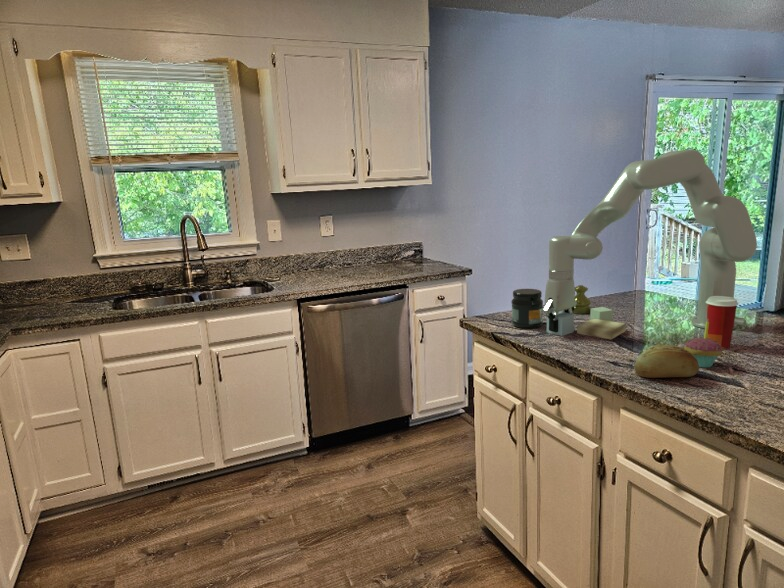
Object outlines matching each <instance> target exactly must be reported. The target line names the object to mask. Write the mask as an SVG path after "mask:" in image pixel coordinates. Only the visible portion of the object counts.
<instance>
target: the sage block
mask: <svg viewBox="0 0 784 588" xmlns="http://www.w3.org/2000/svg"><path fill="white" fill-rule="evenodd" d="M589 314H590V315H589V317H590V318H589V320H590V319H592V318H593V319H600V320H606V321H613V315H614V310H613V309H610V308H608V307H605V306H601V307H593V308H591V312H590V313H589Z"/></svg>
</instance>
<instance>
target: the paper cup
mask: <svg viewBox="0 0 784 588" xmlns="http://www.w3.org/2000/svg"><path fill="white" fill-rule="evenodd" d="M706 303H707V320H708V322H709V326H708V334H707V338H708V339H711V340H715V341H716V342H718V343H719V344H720V345H721V347H722V350H728V349H730V347H731V342H732V339H733V338H732V337H733V331H734V329H733V327H734V320H735V313H736V312H737V306H738V305H739V303H738V300H737V299H736V298H735V297H734V298H732V297H726V296H711V297H709V298H708V299H707V301H706ZM736 314H737V313H736Z"/></svg>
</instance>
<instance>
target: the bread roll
mask: <svg viewBox="0 0 784 588" xmlns="http://www.w3.org/2000/svg"><path fill="white" fill-rule="evenodd" d="M633 368H634V373H635V374H637V375H638V376H639V377H642V378H646V379H647V378H649V379H650V378H651V379H656V378H657V379H659V378H661V379H662V378H688V377H689V378H690V377H694V376H695V375H697V373H698V372H699V371H700V367H699V364H698V361H697V359H696V358H695V357H694V356H693V355H692V354H691V353H690V352H689V351H687V350H685V349H684V348H683V347H680V346H677V345H671V344H657V345H656V344H655V345H652V346H650V347H648V348H645V350H643V351H642V352H641V353H640V355H639V356H638V357H637V359H636V361H635V363H634V367H633Z"/></svg>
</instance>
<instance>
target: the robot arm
mask: <svg viewBox="0 0 784 588" xmlns="http://www.w3.org/2000/svg"><path fill="white" fill-rule="evenodd" d="M676 184H680V185H681V186H682V187H683V189H684V190H685V193H686V196H687V198H688V200H689V204H690V207H691V210H692V213H693V216H694V218H695V221H696V222H697V223H698V224H700V225H702V226H705V227H711V228H709V229H707V230H706V231H705V232H704V233H703V234H702V235H701V237H700V239H699V255H700V275H699V288H698V289H699V290H698V301H697V302H698V303H697V314H696V315H697V316H696V317H693V318H691V319H690V320H691V325H692V326H694V327H697V328H700V329H705V327H706V322H707V303H706V301H707V299H708V298H709V297H711V296H726V297H732V298H735V297H734V296H735V288H736V286H735V285H736V279H737V267H736V263H739V262H740V263H742V262H745V261H748V260H749V259H751V258H752V257H753V256H754V254H755V253H756V251H757V248H758V244H757V243H758V242H757V236H756V233H755V230H754V226H753V223H752V220H751V218H750V214H749V211H748V208H747V207H746V205H745V204H744V202H743V201H742V200H740V199H739V198H737V197H736V196H735V197H734V196H730V195H724V194H723V193H722V191H721V187H720V186H719V183H718V181H717V178H716V175H715V174H714V172H713V171H712V169H711V168H710V166H709V165H707V164H706V159H705V157H704V155H703V154H702V153H701V152H700V151H697V150H696V149H695V150H694V149H682V150H681V149H680V150H671V151H667V152H665V153H663V154H661V155H660V156H659V157H658V158H654V159H653V158H652V159H647V160H636V161H633V162H630V163H629V164H627V166H626V167H625V168H624V169H623V171H622V172H621V173H620V175H618V177H617V179H616V180H615V181H614V183H613V185H612V186H611V187H610V188H609V190H608V192H606V194H605V195H604V197H603V198H602V199H601V200H600V202H599V203H597V204H596V206H594V208H593V209H591V210H590V211H589V212H588V213H587V214H586V215H585V216H584V217H583V219H582V220H581V221H580V222H579V223H578V225H577V226H576V227H575V229H574V230H573V232H572V233H571V234H570V236H566V235H558V236H553V237H551V238H550V239H549V242H548V243H549V244H548V248H549V249H548V251H549V252H548V279H547V281H546V286H545V292H544V293H545V294H544V308H543V313H544V314H545V316H546V318H547V317H548V319H549V331H553V332H558V320H557V317H558V313H559V311H560V312H565V313H570V314H574V313H573V310H574V308H575V306H576V304H577V302H576V300H575V296H576V291H575V287H576V286H575V281H574V273H575V272H574V269H575V268H574V267H575V266H574V265H575V260H577V259H578V260H587V261H588V260H594V259H596V258H598V257H599V256H600V255H601V254H602V252H603V243H602V242H601V240H600V239H599V238H598V236H599V235H600V233H602V231H603V230H605V228H607V227H608V226H610V225H611V224H613V223H615V222H616V221H619V220H621V219H622V218H624V217H626V215H628V214H629V212H630V210H631V209H632V207H633V206H634V204H635V203H636V202H637V200H638V199H640V197H641V195H642V194H643V192H645V190H647V191H648V190H655V189H661V188H664V187H669V186H673V185H676ZM554 312H555V314H554V315H553V314H552V313H554ZM736 314H737V313H735V320H734V327H733V330H734V329H736V328H738V326H744V327H745V326H746V324H747V319H746V318H744V317H739V316H738V317H737V316H736Z"/></svg>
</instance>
